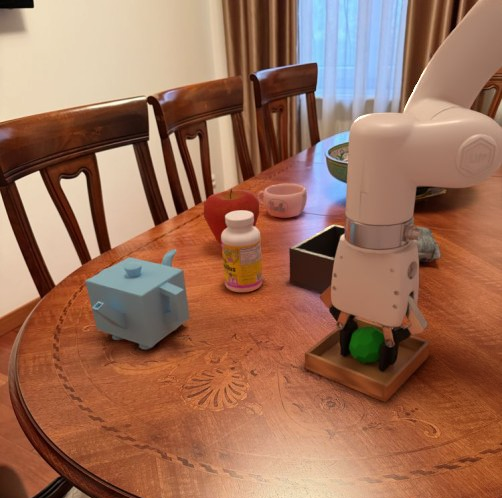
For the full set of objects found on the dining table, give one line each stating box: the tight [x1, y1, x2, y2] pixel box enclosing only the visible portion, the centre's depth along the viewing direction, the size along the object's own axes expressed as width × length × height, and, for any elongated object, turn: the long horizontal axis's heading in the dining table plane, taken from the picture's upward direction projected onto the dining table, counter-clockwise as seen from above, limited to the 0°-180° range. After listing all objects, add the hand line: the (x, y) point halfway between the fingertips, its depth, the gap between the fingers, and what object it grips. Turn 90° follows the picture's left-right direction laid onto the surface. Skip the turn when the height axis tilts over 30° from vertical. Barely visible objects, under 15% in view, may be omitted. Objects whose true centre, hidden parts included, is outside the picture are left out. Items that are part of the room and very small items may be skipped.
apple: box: [203, 188, 260, 246], centre depth 103 cm, size 11×11×12 cm
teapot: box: [84, 248, 191, 350], centre depth 77 cm, size 16×18×11 cm
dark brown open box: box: [288, 223, 345, 294], centre depth 89 cm, size 16×14×7 cm
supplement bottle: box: [221, 210, 263, 293], centre depth 88 cm, size 7×7×13 cm
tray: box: [304, 316, 431, 403], centre depth 69 cm, size 12×12×2 cm
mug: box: [256, 183, 308, 219], centre depth 120 cm, size 12×10×6 cm
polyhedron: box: [349, 326, 385, 363], centre depth 68 cm, size 5×5×5 cm
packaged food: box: [412, 225, 442, 263], centre depth 97 cm, size 9×12×5 cm
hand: (367, 357), depth 70 cm, fingers closed on polyhedron, 5 cm apart
